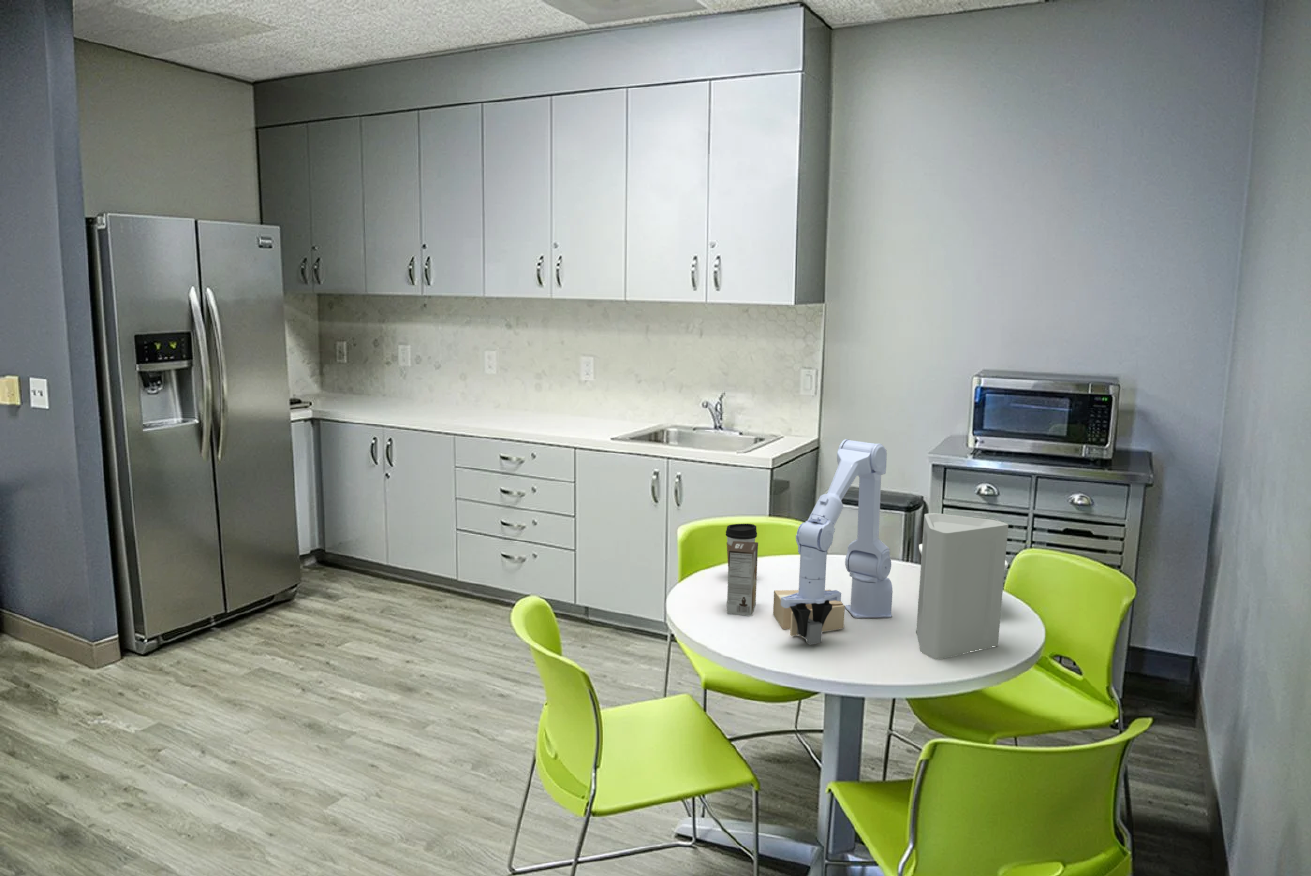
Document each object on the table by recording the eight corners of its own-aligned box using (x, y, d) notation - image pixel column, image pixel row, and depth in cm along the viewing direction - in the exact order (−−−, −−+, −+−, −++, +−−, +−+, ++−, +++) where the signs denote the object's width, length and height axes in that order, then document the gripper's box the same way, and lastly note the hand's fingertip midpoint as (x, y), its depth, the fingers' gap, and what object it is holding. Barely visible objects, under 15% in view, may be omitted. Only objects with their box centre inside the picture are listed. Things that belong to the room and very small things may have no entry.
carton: (829, 613, 226) (830, 589, 225) (841, 628, 216) (843, 603, 215) (773, 614, 225) (774, 589, 224) (782, 629, 215) (783, 603, 214)
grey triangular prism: (950, 624, 220) (959, 509, 216) (999, 645, 208) (1010, 524, 203) (888, 636, 212) (896, 517, 207) (935, 659, 199) (945, 533, 194)
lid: (842, 627, 216) (843, 604, 215) (860, 638, 209) (862, 615, 208) (790, 635, 210) (791, 611, 210) (807, 646, 204) (808, 622, 203)
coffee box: (730, 601, 233) (732, 539, 230) (756, 604, 232) (758, 541, 229) (726, 614, 224) (728, 549, 221) (752, 616, 223) (755, 552, 220)
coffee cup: (756, 584, 247) (758, 530, 244) (724, 584, 247) (726, 529, 244) (753, 575, 255) (755, 522, 253) (723, 574, 255) (724, 521, 253)
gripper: (793, 584, 198) (791, 645, 200) (850, 577, 204) (847, 636, 206) (776, 575, 204) (774, 633, 207) (832, 568, 210) (829, 625, 212)
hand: (809, 634), depth 207 cm, fingers open, 3 cm apart
